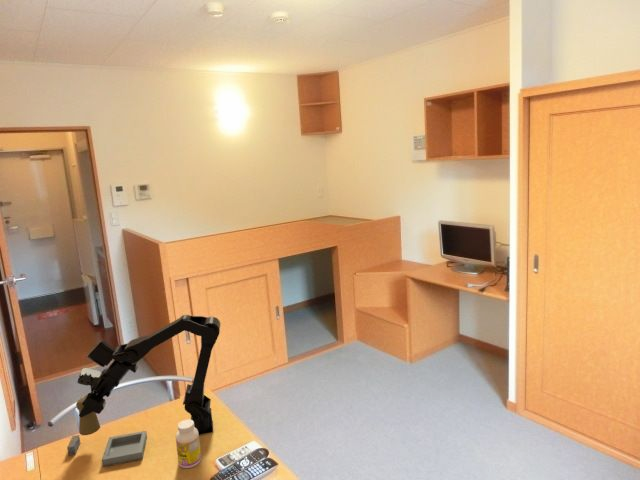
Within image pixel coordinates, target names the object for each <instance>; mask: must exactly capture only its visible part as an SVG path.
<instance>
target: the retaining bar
mask: <svg viewBox="0 0 640 480" xmlns="http://www.w3.org/2000/svg"><path fill="white" fill-rule="evenodd" d="M80 445H81V437H80V434H77V435H72V437H71V438H70V441H69V443H68V444H67V449H66V450H67V456H68V457H70V456H75V455H77V453H78V450H79V448H80Z"/></svg>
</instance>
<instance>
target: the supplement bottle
mask: <svg viewBox="0 0 640 480" xmlns="http://www.w3.org/2000/svg"><path fill="white" fill-rule="evenodd" d="M175 443H176V453H177V460H178V465H179V467H181V468H182V469H191V468H194V467H196V466H197V465H199V463H200V462H201V460H202V453H201V444H200V435H199V433H198V430H197V429H196V428H195V427H194V421H193V420H191V419H189V418H188V419H183V420H182V421H180V422H178V424H177V432H176V434H175Z"/></svg>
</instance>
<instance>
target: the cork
mask: <svg viewBox="0 0 640 480" xmlns="http://www.w3.org/2000/svg"><path fill="white" fill-rule="evenodd" d="M84 398H85V396H83V397H80V398H79V399H78V400H77V401H76V409H77V410H78V411H79V413H78V415H79V414H80V412H81V410H82V409H83V407H84V406H83V405H82V402H83V400H84ZM78 419H79V422H78V423H79V426H78V427H79V435H81V436H89V435H92V434H95V433H97V432H98V431H100V429H101V425H100V424H101V423H100V421H99V418H98V416H97V413H95V412H92V413H90V414H88V415H86V416H83V417H79V416H78Z"/></svg>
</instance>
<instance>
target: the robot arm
mask: <svg viewBox="0 0 640 480" xmlns="http://www.w3.org/2000/svg"><path fill="white" fill-rule="evenodd" d="M220 330H221V321H220V320H219V319H218V317H215V316H209V317H207V316H202V315H189V314H182V315H181V316H180V317H179V318H177V319H175V320H173V321H171V322H170V323H168V324H166V325H164V326H163V327H161V328H159V329H157V330H155V331H154V332H153V333H151V334H148V335H144V336H140V337H137V338H134V339H131V340H130V341H129V342H128V343H124V344H121V345H117V346H116V347H114V346H112V345H111V344H110V343H108V342H106V340H104V339H101V340H100V341H99V342H98V343H97V344H96V345H95V346H94V347H93V348H92V349H91V351H90V352H89V353H88V354H87V355H86V358H87V359H88V360H89V361H92V362H93V363H95V364H97V365H98V366H100V367H102V368H104V367H105V366H108V365H109V366H108V367H107V368H105V369H103V370H102V371H99V370H97V369H93V368H89V367H83V368H82V370H81V371H80V372H79V375H78V379H77V381H76V382H77V384H79V385H82V386H83V385H84V386H90V392H89V393H87V394H86V395H85V396H84V397H85V398H84V400H83V402H82V405H83V406H84V407H83V409H82V410H81V412H80V414H79V413H78V418H79V417H83V416H86V415H88V414H90V413H92V412H95V413H96V415H97V414H98V415H100V414H101V413H102V411H104V410H105V408H106V407H105V406H106V404H107V401H106V398H109V396H110V395H111V394H112V392H113V390H114V389H115V388H117V387H118V386H119V384H120V382H121V381H122V379H123V378H124V377H125V376H126V374H128V373H129V371H131V372H133V373H137V370H138V368H139V367H138V363H139V361H141V360H142V359H143V358H144V357H145V356H146V355H147V354H148V353H149V352H150V351H152V350H153V349H154V348H156V347H157V346H159V345H161V344H163V343H164V342H167V341H168V340H170V339H172V338H174V337H176V336H177V335H179V334H181V333H182V332H184V331H185V332H189V333H191V334H193V335H194V336H198V337H200V349H199V350H200V351H199V355H198V360H197V364H196V369H195V373H194V378H193V381H192V384H189V383H188V384H187V385H186V389H185V394H184V397H183V402H182V405H184V411H186V412H187V413H188V414H189V415H190V420H193V421H194V427H195V428H196V429H197V430H198V433H199V436H200V435H207V434H211V433H213V432H214V420H213V413H212V408H211V401H212V399H211V398H209V397H208V396H206V395H205V382H206V377H207V373H208V369H209V368H208V367H209V364H210V360H211V355H212V351H213V348H214V346H215V344H216V342H217V340H218V338H219V335H220V332H221V331H220ZM104 397H106V398H104Z"/></svg>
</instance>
